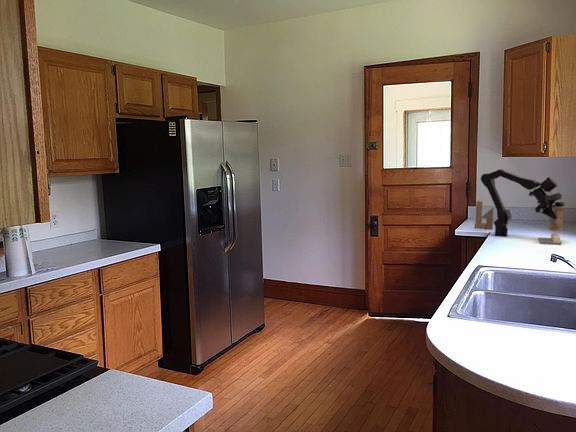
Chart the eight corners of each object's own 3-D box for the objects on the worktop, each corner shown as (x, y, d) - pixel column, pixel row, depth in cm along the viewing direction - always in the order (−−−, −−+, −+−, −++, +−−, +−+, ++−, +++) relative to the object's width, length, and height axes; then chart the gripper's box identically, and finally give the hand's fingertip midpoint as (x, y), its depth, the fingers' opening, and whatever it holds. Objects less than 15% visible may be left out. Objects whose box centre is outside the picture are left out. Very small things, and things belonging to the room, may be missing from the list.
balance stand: (540, 243, 274) (540, 236, 274) (538, 239, 289) (538, 232, 289) (561, 244, 271) (561, 237, 270) (557, 240, 285) (557, 233, 285)
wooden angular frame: (491, 229, 324) (492, 202, 322) (474, 228, 330) (475, 201, 328) (492, 229, 327) (494, 201, 325) (475, 227, 333) (476, 200, 331)
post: (549, 230, 279) (551, 206, 277) (554, 229, 281) (556, 206, 279) (556, 231, 275) (558, 207, 273) (562, 230, 277) (563, 207, 275)
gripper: (541, 188, 274) (558, 210, 266) (562, 187, 283) (580, 208, 274) (527, 201, 282) (544, 223, 274) (548, 200, 291) (565, 221, 282)
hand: (558, 218), depth 276 cm, fingers closed on post, 4 cm apart
